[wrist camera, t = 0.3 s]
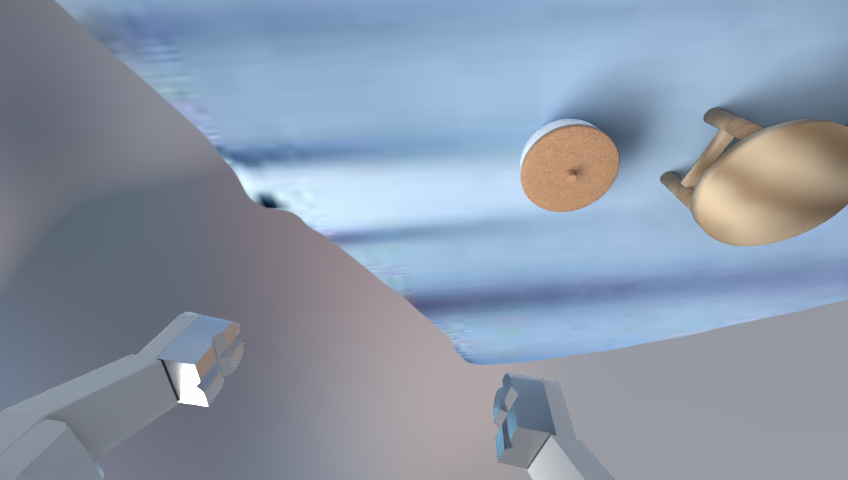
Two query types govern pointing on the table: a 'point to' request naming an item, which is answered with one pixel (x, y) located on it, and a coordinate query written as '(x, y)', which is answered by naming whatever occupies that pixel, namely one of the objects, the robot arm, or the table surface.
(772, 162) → the stool
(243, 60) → the table surface
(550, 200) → the lidded jar
